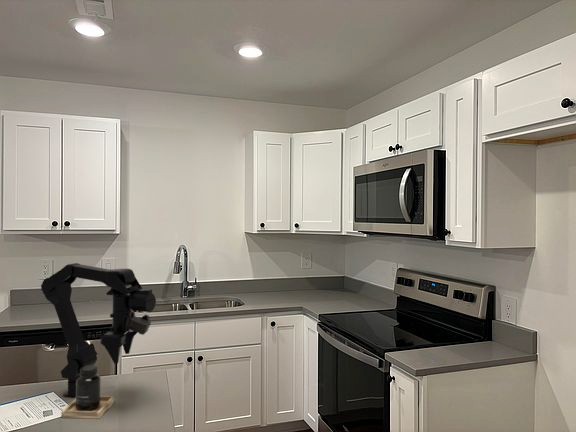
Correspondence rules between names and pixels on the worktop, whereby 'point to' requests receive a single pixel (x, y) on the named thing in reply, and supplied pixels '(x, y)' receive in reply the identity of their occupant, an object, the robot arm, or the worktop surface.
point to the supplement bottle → (88, 389)
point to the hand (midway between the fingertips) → (121, 358)
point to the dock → (97, 413)
